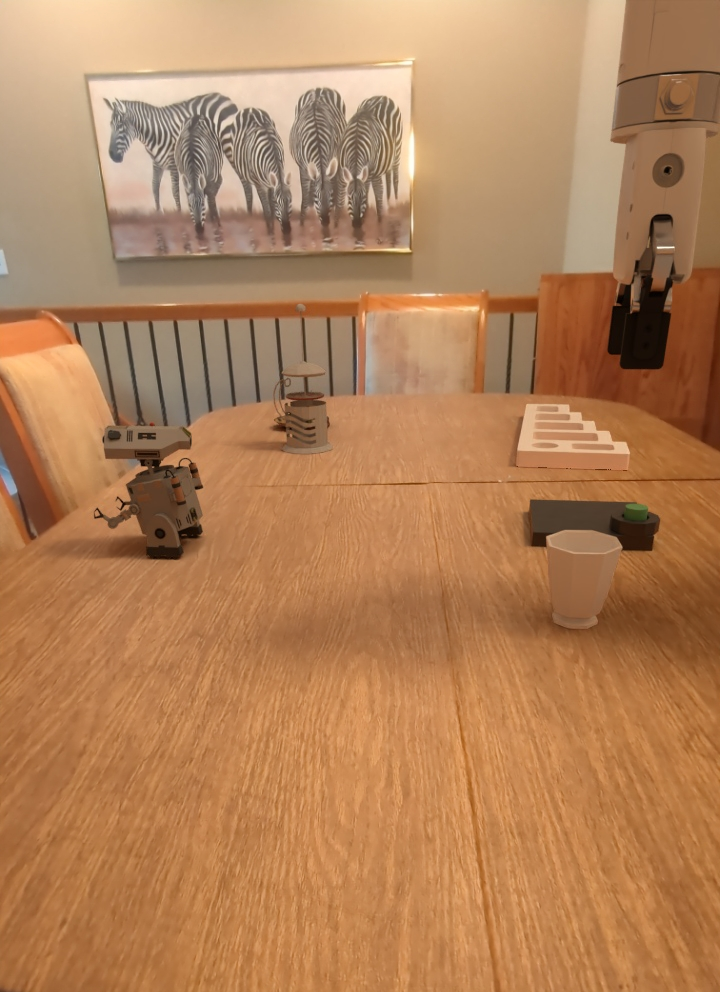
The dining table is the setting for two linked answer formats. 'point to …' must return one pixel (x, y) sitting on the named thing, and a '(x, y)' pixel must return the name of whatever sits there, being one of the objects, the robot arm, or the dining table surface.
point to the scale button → (636, 512)
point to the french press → (304, 410)
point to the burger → (283, 421)
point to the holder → (566, 441)
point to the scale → (591, 521)
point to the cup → (580, 575)
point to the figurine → (157, 486)
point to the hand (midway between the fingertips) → (632, 361)
